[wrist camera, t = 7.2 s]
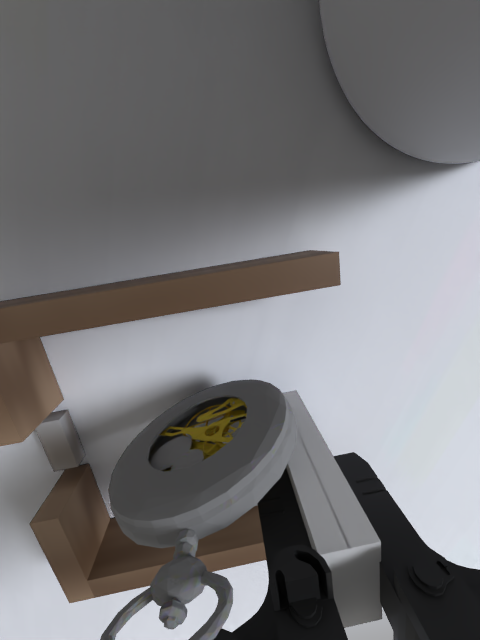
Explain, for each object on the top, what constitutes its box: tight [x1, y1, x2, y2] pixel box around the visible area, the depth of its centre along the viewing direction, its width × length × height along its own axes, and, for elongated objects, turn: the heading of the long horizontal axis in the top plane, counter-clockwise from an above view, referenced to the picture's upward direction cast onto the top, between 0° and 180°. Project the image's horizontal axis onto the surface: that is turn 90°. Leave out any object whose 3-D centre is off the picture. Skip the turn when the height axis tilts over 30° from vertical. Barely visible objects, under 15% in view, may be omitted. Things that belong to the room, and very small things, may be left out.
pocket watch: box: [100, 380, 297, 640], centre depth 9 cm, size 8×8×10 cm
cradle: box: [0, 250, 340, 603], centre depth 13 cm, size 14×14×3 cm
